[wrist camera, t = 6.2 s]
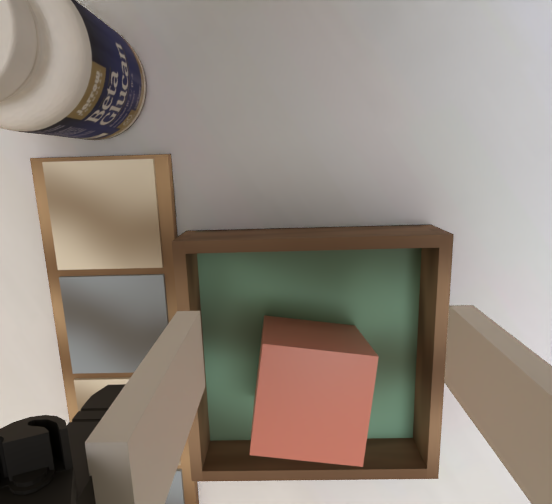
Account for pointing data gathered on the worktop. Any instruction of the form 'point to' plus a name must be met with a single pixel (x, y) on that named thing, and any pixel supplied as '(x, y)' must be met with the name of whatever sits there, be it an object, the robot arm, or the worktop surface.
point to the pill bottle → (65, 72)
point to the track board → (109, 271)
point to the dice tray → (323, 308)
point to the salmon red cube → (313, 392)
